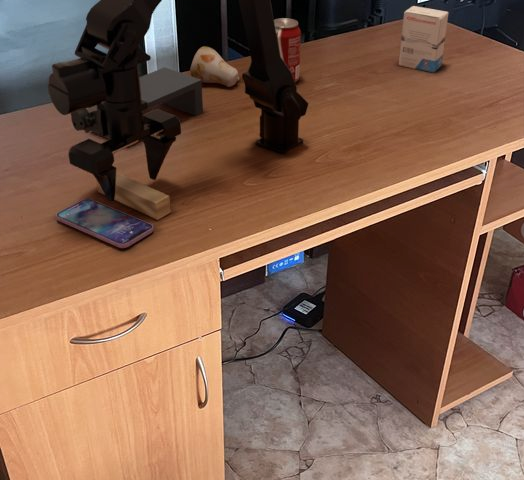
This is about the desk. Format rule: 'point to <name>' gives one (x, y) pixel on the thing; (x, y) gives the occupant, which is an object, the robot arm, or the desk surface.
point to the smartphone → (105, 223)
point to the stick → (140, 197)
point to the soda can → (289, 43)
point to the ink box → (423, 38)
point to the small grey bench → (171, 91)
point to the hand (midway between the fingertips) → (132, 189)
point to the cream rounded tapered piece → (212, 68)
